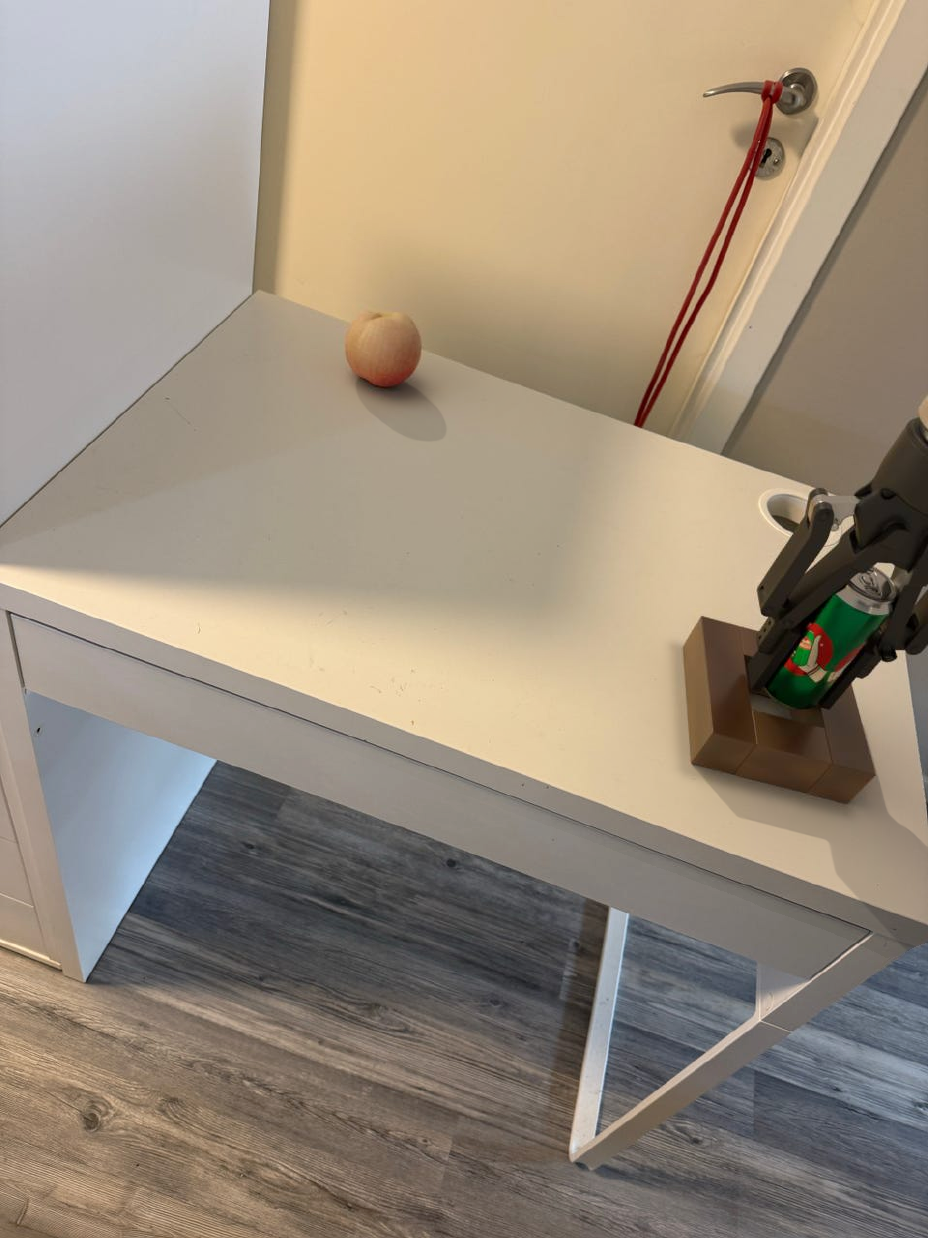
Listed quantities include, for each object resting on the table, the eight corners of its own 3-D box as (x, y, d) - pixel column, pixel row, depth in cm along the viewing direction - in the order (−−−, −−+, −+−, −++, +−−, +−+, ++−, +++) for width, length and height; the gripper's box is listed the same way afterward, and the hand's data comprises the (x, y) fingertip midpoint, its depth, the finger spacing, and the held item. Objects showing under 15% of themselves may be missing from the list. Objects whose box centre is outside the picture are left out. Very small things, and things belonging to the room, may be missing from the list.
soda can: (808, 671, 70) (890, 564, 62) (824, 719, 66) (913, 611, 58) (750, 660, 69) (826, 550, 61) (763, 707, 66) (845, 597, 57)
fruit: (386, 356, 99) (397, 291, 94) (426, 392, 96) (440, 326, 90) (328, 366, 95) (336, 298, 89) (368, 404, 91) (379, 336, 86)
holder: (820, 683, 76) (843, 653, 73) (848, 804, 66) (876, 775, 64) (682, 646, 75) (701, 615, 72) (690, 763, 66) (712, 732, 63)
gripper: (1084, 449, 55) (883, 681, 71) (820, 375, 54) (677, 626, 70) (1135, 517, 49) (905, 751, 65) (843, 436, 48) (682, 693, 64)
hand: (788, 686), depth 68 cm, fingers closed on soda can, 5 cm apart
